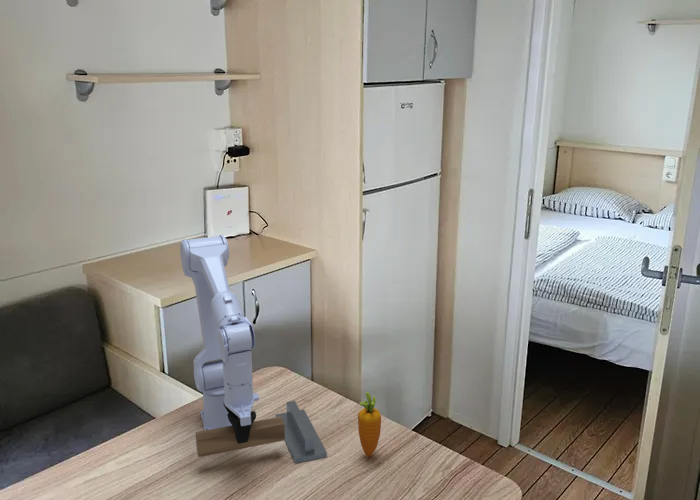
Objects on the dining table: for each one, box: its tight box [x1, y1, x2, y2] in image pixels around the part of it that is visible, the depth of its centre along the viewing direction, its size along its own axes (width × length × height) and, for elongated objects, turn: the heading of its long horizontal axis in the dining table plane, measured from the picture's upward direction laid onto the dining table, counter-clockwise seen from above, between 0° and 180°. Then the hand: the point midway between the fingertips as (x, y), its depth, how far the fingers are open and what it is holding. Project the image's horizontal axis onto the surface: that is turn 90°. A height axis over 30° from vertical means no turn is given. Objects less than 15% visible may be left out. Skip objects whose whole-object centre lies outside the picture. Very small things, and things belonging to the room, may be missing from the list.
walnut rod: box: [194, 416, 285, 458], centre depth 132 cm, size 3×18×4 cm, turn 110°
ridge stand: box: [275, 400, 328, 465], centre depth 143 cm, size 18×7×5 cm, turn 20°
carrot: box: [357, 391, 382, 458], centre depth 134 cm, size 5×5×15 cm
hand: (240, 437), depth 133 cm, fingers closed on walnut rod, 3 cm apart
